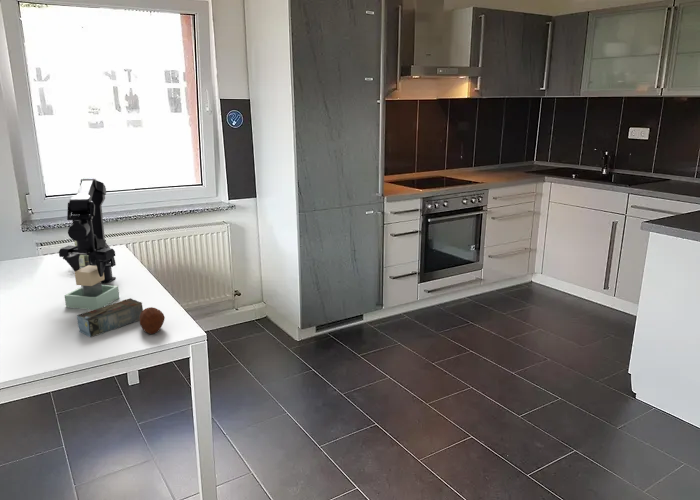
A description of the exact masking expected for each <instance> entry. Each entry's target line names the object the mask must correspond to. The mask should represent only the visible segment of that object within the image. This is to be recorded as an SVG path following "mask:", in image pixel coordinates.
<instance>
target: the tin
mask: <svg viewBox="0 0 700 500" xmlns="http://www.w3.org/2000/svg"><path fill="white" fill-rule="evenodd" d="M102 285H103V283H101V282H99V283H97V284H95V285H93V286H83V285H80V286H81V288H82V296H87V297H97V296H99V295H101V294H103V292H102Z"/></svg>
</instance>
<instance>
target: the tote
mask: <svg viewBox="0 0 700 500" xmlns="http://www.w3.org/2000/svg"><path fill="white" fill-rule="evenodd" d="M102 292H103V294H101V295H99V296H97V297H87V296H82V288H81V287H78V288H77V289H75V290H72V291H71V292H68V293H67V294H66V293H65V295H64V301H65V307H66V308H71V309H81V310H82V309H83V310H89V311H92V310H95V309H98V308H102V307H105V306H108V305H110V304H112V302H114V301H116V300H118V299H119V298H120V291H119V285H108V284H107V285H106V284H102Z"/></svg>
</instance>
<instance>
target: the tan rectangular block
mask: <svg viewBox="0 0 700 500" xmlns="http://www.w3.org/2000/svg"><path fill="white" fill-rule="evenodd" d="M74 276H75V284H76V286H81V285H83V286H93V285H95V284H97V283H99V282H101V281H103V280H104V279H105V278H104V273H103V276H102V277H100V275H99V273H98V269H97V266H91V265H88V266H86V267H84V268H80V269H79V270H77V271H74Z"/></svg>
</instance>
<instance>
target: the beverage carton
mask: <svg viewBox="0 0 700 500" xmlns="http://www.w3.org/2000/svg"><path fill="white" fill-rule="evenodd" d="M143 310H144V309H143V302H142V301H138V300H136V299H133V298H128V299H123V300H121V301H118V302H115V303H110V304H108V305H106V306H104V307H102V308H98V309H95V310H89V311H86V312H82V313H79V314H77V315H76V320H77V328H78V331H79V333H82V334H83V335H85V336H87V337H88V338H93V337H95V336H99V335H101V334H104V333H107V332H110V331H113V330H115V329H116V330H117V329H119V328H121V327H124V326H127V325H130V324H133V323H135V322H140V314H141V312H142V311H143Z"/></svg>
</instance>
